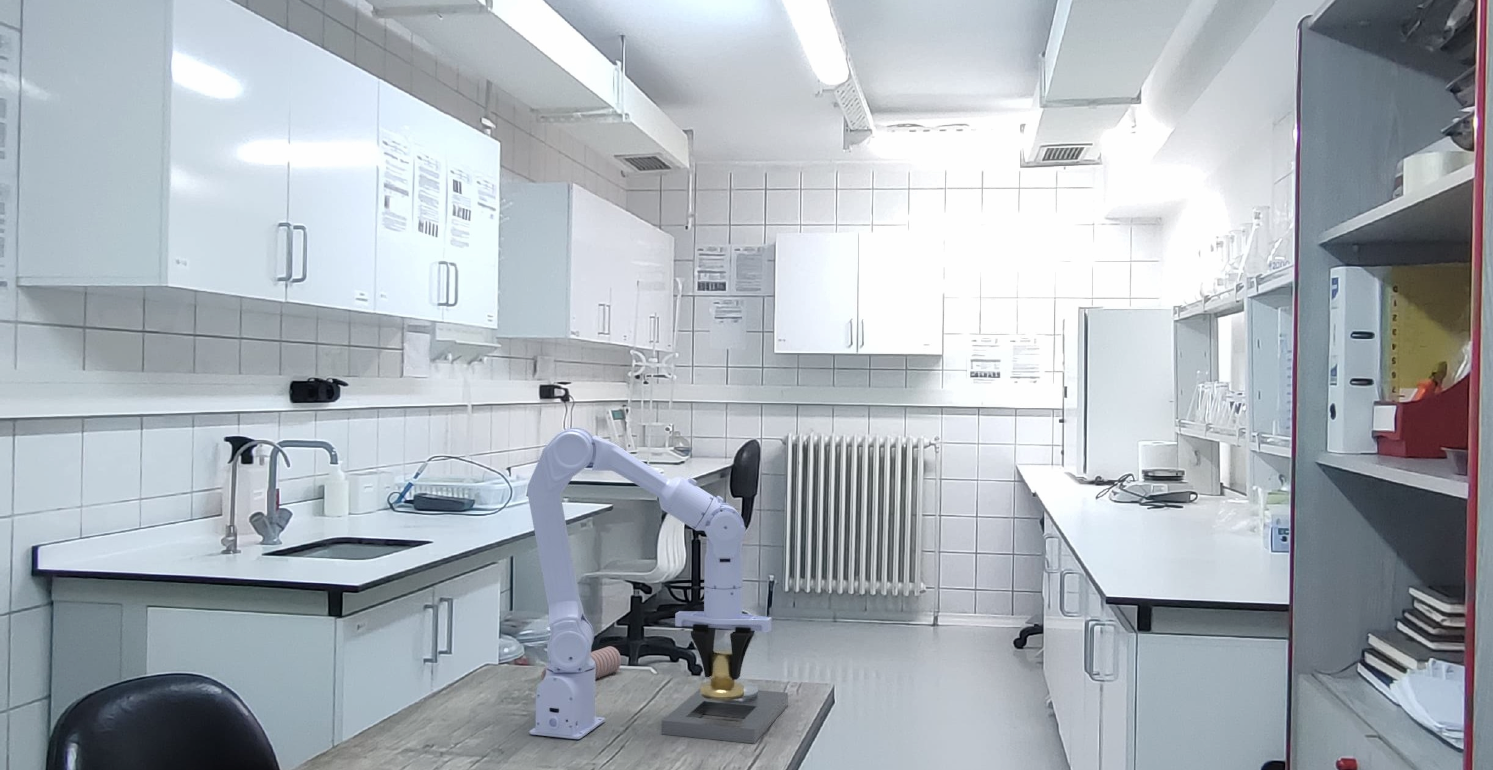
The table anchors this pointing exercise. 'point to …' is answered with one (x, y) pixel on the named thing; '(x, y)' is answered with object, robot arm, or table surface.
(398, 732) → the table surface
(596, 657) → the coil
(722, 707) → the carrier plate
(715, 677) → the gold flanged round piece
